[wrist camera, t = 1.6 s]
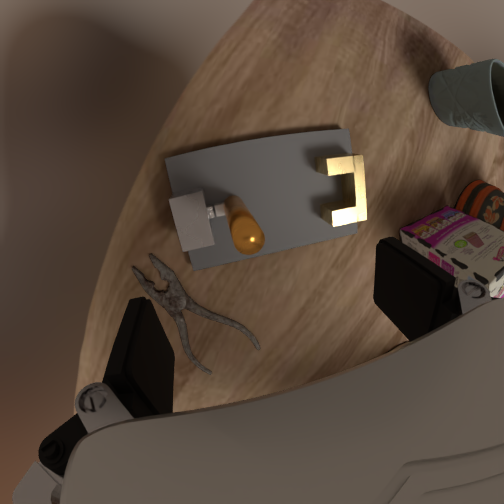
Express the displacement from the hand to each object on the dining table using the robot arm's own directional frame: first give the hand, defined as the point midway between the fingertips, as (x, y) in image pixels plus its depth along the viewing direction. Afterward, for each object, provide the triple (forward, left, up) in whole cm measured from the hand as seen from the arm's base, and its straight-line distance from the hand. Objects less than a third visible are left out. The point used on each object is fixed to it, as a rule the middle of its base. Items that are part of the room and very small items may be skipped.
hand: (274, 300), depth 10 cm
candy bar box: (-27, +9, -19) cm, 35 cm away
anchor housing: (+4, 0, -18) cm, 18 cm away
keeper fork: (-11, 0, -18) cm, 21 cm away
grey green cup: (-33, -11, -19) cm, 40 cm away
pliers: (+9, +14, -20) cm, 26 cm away
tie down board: (-4, 0, -19) cm, 19 cm away
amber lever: (+2, 0, -17) cm, 17 cm away
